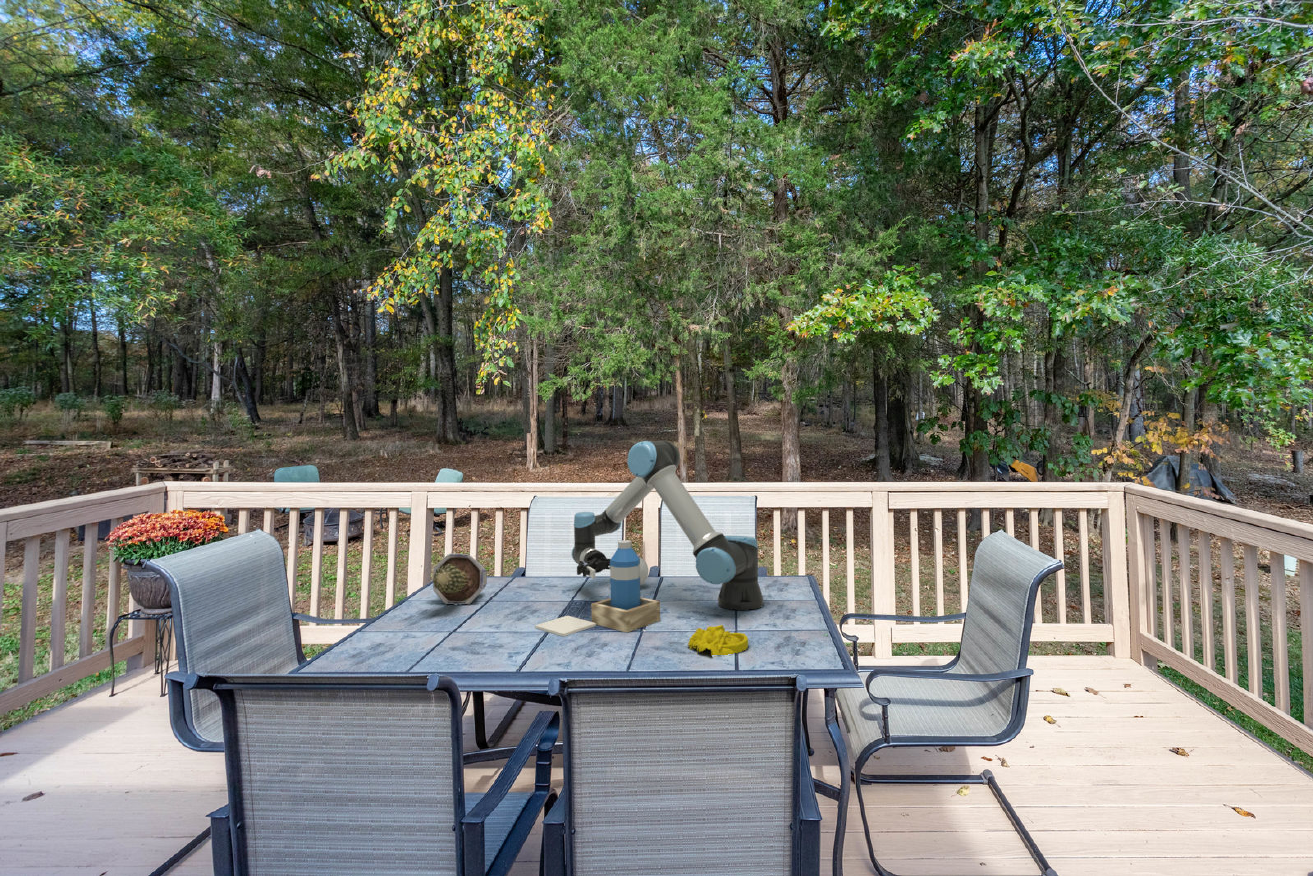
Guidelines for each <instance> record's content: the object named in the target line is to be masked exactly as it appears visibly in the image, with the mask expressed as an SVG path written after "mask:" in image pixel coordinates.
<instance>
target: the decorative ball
mask: <svg viewBox="0 0 1313 876" xmlns="http://www.w3.org/2000/svg"><path fill="white" fill-rule="evenodd" d="M638 557H639V558H640V587H641V586H642V585H644V583H645V582H646V581H647V579H648V576H649V567H648V563H647V561H646V560H645V559H643V558H642V557H640V556H638Z"/></svg>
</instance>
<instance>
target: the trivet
mask: <svg viewBox="0 0 1313 876" xmlns="http://www.w3.org/2000/svg"><path fill="white" fill-rule="evenodd" d="M596 626H597V624H596V623H593V622H592V621H589V620H585V619H581V618H578V617H575V616H570V615H565V616H561V617H559V618H555V619H552V620H549V621H545V622H542V623H538V624H535V625H534V629H536V628H538V629H537V630H540V631H544V632H547V633H549V634H553V635H557V636H560V637H566V636H570V635H572V634H573V635H574V634H576V633H579V632H582V631H584V630H588V629H591V628H594V627H596Z"/></svg>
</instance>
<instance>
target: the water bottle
mask: <svg viewBox="0 0 1313 876" xmlns="http://www.w3.org/2000/svg"><path fill="white" fill-rule="evenodd" d="M617 542H618V543H617V549H616V550H615V552H614V554H613V555H612V556H611V558H609V559H610V566H609V567H610V569H609V572H610V573H609V574H610V578H609V579H610V580H609V581H610V598H611V607H615V608H619V609H623V610H629V609H632V608H635V607H638V606H641V597H642V596H641V586H640V558H639V557H640V556H639V555H638V554H637V552H636V551H635V550H634V549H633V547H632V540H629V539H626V540H624V539H623V540H619V541H617Z"/></svg>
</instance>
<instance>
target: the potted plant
mask: <svg viewBox="0 0 1313 876" xmlns="http://www.w3.org/2000/svg"><path fill="white" fill-rule="evenodd" d="M487 580H488V572H487V570H486V568H485V567H484V566H483V565H482V564H481V563H480V561H478V560H477V559H476V558H474V557H473V556H471V554H469V553H468V554H467V553H448V554H447V555H446V556H444V557H443V558H442V559H441V561H439V562H438V563H437V564H436V565H435V567H433V576H432V589H433V591H434V593H435V594H436V596H438V598H439V599H440V600H441V601H442V602H443V603H444V604H445V605H447V604H468V605H470V604H471V603H472V602H473V601H474V600H475V599H476V598H477V597H478V596H479V595H480V594H481V592H482V591H483V590H485V587H486V586H487V583H488V582H487Z"/></svg>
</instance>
